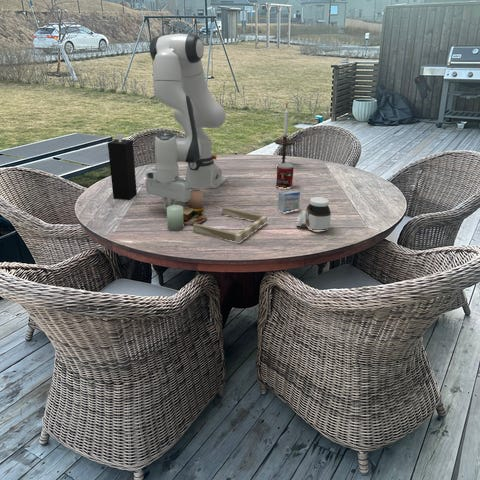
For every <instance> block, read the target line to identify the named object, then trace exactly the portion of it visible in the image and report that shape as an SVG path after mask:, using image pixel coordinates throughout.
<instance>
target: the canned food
mask: <svg viewBox="0 0 480 480" xmlns="http://www.w3.org/2000/svg"><path fill="white" fill-rule="evenodd" d="M280 163H281V164H278V163H277V164H278V166H277V168H276V183H275V185H276V187H277V186H278V187H283V188H287V187H291V186H292V187H293V183H294V182H293V181H294V180H293V179H294V164H291V163H288V162H287V163H286V162H285V163H282V162H280Z"/></svg>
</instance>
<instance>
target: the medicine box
mask: <svg viewBox="0 0 480 480" xmlns="http://www.w3.org/2000/svg"><path fill="white" fill-rule="evenodd" d="M277 199H278V200H277V210H278V209H279V210H280V211H282V212H286V211H291V210H295V209H299V210H300V199H301V192H300V191H298V190H297V189H287V190H282V191H278V197H277Z"/></svg>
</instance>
